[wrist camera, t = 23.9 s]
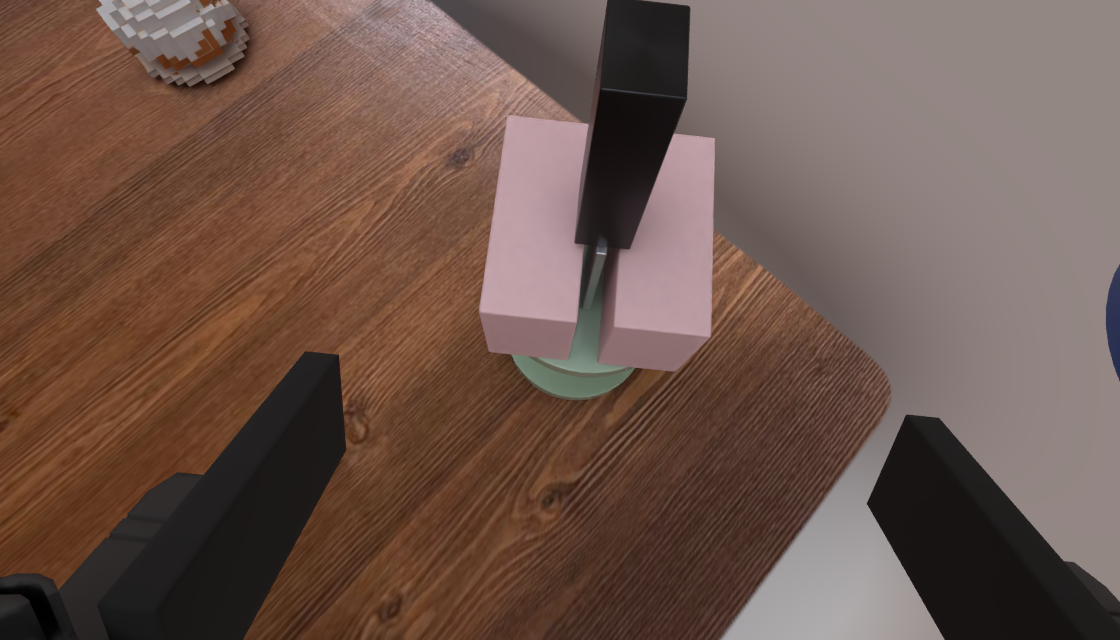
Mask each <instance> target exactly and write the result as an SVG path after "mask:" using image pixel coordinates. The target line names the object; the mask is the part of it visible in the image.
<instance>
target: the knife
mask: <svg viewBox="0 0 1120 640" xmlns="http://www.w3.org/2000/svg"><path fill="white" fill-rule="evenodd" d="M689 31H690V6H686V5H678V4H670V3H661V2H652V1H644V0H608V1H607V7H606V14H605V21H604V27H603V33H602V40H601V47H600V53H599V60H598V66H597V73H596V79H595V86H594V92H593V99H592V106H591V113H590V119H589V125H588V132H587V138H586V145H585V151H584V158H583V165H582V171H581V178H580V188H579V198H578V208H577V219H576V229H575V239H574V243H575V244H583V245H588V250H587V261H586V272H585V284H584V295H583V306H582V308H583V309H590V308H591V305H592V302H593V298H594V295H595V291H596V288H597V285H598V281H599V278H600V275H601V271H602V268H603V264H604V261H605V258H606V254H607V247H611V248H620V249H630V248H631V245H632V243H633V240H634V237H635V235H636V232H637V230H638V227H639V224H640V222H641V219H642V216H643V214H644V211H645V208H646V206H647V203H648V201H649V198H650V195H651V193H652V190H653V187H654V185H655V182H656V179H657V177H658V174H659V172H660V169H661V166H662V164H663V161H664V158H665V156H666V153H667V150H668V148H669V145H670V143H671V140H672V137H673V135H674V132H675V129H676V127H677V124H678V121H679V119H680V116H681V114H682V111H683V108H684V105H685V103H686V100H687V85H688V57H689Z"/></svg>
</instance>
